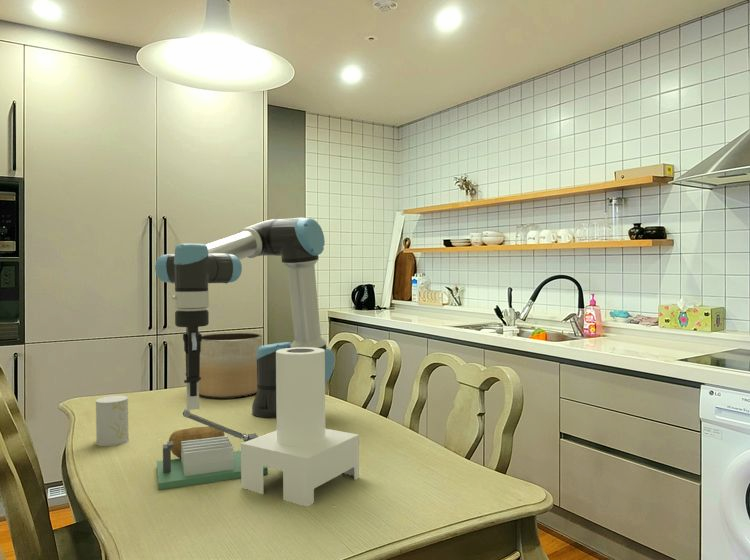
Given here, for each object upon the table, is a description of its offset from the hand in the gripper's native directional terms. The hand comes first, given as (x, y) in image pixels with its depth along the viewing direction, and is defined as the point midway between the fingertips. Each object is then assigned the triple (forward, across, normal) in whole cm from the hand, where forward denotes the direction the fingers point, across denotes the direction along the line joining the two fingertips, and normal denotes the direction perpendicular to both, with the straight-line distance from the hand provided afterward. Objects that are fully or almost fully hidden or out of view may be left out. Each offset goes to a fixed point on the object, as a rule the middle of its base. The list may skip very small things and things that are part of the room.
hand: (193, 408), depth 132 cm
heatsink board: (+15, 0, +4) cm, 16 cm away
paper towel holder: (+16, +16, +22) cm, 31 cm away
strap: (+5, 0, +5) cm, 7 cm away
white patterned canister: (+16, -35, -19) cm, 42 cm away
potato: (+16, -10, +2) cm, 19 cm away
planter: (+16, -85, +21) cm, 89 cm away
